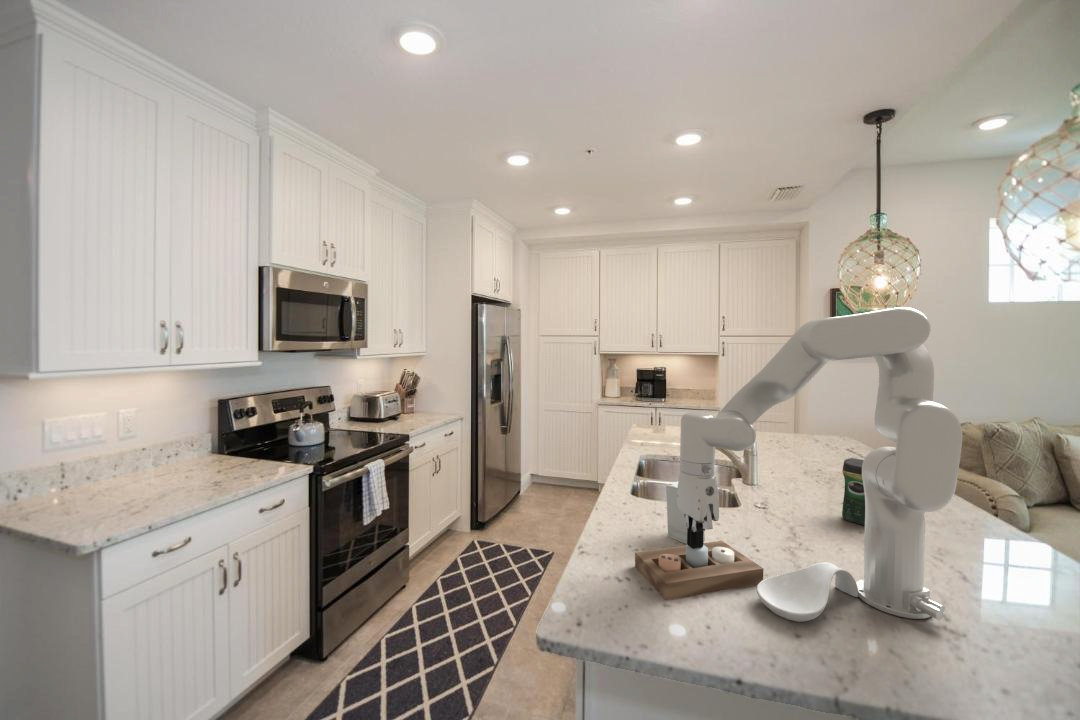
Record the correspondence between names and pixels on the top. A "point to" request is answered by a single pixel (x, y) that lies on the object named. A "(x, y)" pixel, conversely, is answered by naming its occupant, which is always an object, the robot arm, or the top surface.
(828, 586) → the spoon rest
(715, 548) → the one-pip button
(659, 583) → the wooden three-slot caddy
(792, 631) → the top surface
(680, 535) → the skincare box
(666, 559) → the three-pip button
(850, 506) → the coffee jar
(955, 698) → the top surface
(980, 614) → the top surface
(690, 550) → the two-pip button
